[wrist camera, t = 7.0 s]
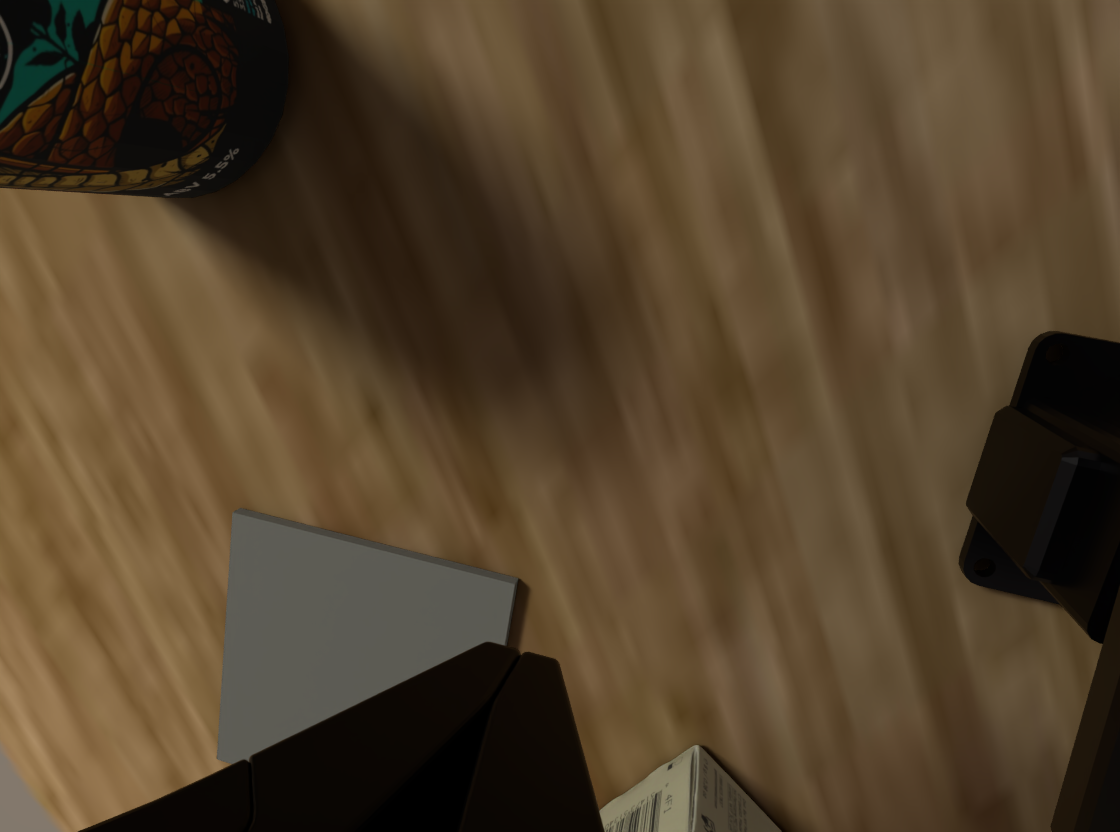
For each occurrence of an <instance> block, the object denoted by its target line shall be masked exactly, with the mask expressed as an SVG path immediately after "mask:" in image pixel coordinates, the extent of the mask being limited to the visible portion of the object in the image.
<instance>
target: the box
mask: <svg viewBox="0 0 1120 832" xmlns="http://www.w3.org/2000/svg"><path fill="white" fill-rule="evenodd" d="M599 812H600V816H601V819H602V823H603V827H604V830H605V832H782V831H781V830H780V829H779V828H778V827H777V826H776V825H775V824H774V823H773V822H772V821H771V819H770V818H769V817H768V816H767V815H766V814H765V813H764V812H763V811H762V810H761V809H760V808H759V807H758V806H757V805H756V804H755V802H754V801H753V800H752V799H751V798H750V797H749V796H748V795H747V794H746V793H745V792H744V791H743V790H742V789H741V788H740V787H739V786H738V785H737V784H736V783H735V782H734V781H733V779H732V778H731V777H730V776H729V775H728V774H727V773H726V772H725V771H724V770H723V769H722V768H721V767H720V766H719V765H718V764H717V763H716V762H715V761H714V760H713V759H712V758H711V757H710V756H709V755H708V754H707V753H706V751H705V750H704V749H703V748H701V747H700V746H699V745H695V746H693V747H691V748H690V749H688V750H686V751H685V752H683V753H682V754H681V755H679V756H678V757H676V758H675V759H673V760H672V761H670V762H668V763H666V764H664V765H662V766H661V767H659V768H658V769H656V770H655V771H654V772H652V773H651V774H650V775H649V776H648V777H647V778H646V779H644V780H643V781H641V782H640V783H639V784H637V785H636V786H634V787H633V788H631V789H630V790H629V791H627V792H626V793H624V794H623V795H621V796H619V797H617V798H615V799H614V800H612V801H611V802H610V803H608V804H607V805H606V806H605V807H604V808H602V809H601V810H600V811H599Z"/></svg>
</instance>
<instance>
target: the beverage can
mask: <svg viewBox="0 0 1120 832" xmlns="http://www.w3.org/2000/svg"><path fill="white" fill-rule="evenodd" d="M288 63H289V55H288V49H287V43H286V37H285V31H284V25H283V22H282V19H281V17H280V14H279V11H278V8H277V5H276V2H275V0H0V188H13V189H30V190H47V191H63V192H80V193H97V194H114V195H131V196H148V197H165V198H193V197H197V196H201V195H205V194H208V193H212V192H216V191H218V190H220V189H221V188H223V187H225V186H227V185H229V184H230V183H232V182H234V181H236V180H237V179H238V178H240V177H241V176H242V175H243V174H244V173H245V172H246V171H247V170H248V169H249V168H250V167H252V166H253V165H254V164H255V163H256V162H257V161H258V159H259V158H260V156H261V155H262V153H263V152H264V150H265V149H266V148H267V146H268V145H269V143H270V142H271V140H272V138H273V136H274V133H275V131H276V128H277V126H278V124H279V121H280V119H281V116H282V114H283V109H284V104H285V99H286V94H287V89H288Z"/></svg>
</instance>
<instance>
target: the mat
mask: <svg viewBox="0 0 1120 832" xmlns="http://www.w3.org/2000/svg"><path fill="white" fill-rule="evenodd" d="M517 584H518V578H515V577H511V576H507V575H503V574H500V573H496V572H492V571H488V570H484V569H480V568H476V567H472V566H468V565H464V564H460V563H456V562H452V561H448V560H444V559H440V558H436V557H432V556H428V555H424V554H420V553H416V552H412V551H408V550H405V549H401V548H397V547H393V546H389V545H385V544H381V543H377V542H373V541H369V540H365V539H361V538H357V537H353V536H349V535H345V534H341V533H337V532H333V531H329V530H325V529H321V528H317V527H313V526H309V525H306V524H302V523H298V522H294V521H290V520H286V519H282V518H278V517H274V516H270V515H266V514H262V513H258V512H254V511H250V510H246V509H242V508H240V509H238V510H236V511H234V512H233V515H232V531H231V546H230V562H229V577H228V593H227V609H226V624H225V640H224V656H223V671H222V687H221V703H220V718H219V734H218V750H217V759H218V760H221V761H224V762H227V763H231V764H234V763H236V762H238V761H240V760H242V759H246V760H247V761H248V762H249V758H250V756H251V755H253V754H255V753H257V752H259V751H261V750H263V749H265V748H267V747H269V746H271V745H274V744H276V743H278V742H280V741H282V740H284V739H286V738H288V737H290V736H292V735H294V734H296V733H298V732H300V731H302V730H304V729H306V728H309V727H311V726H313V725H315V724H317V723H319V722H321V721H323V720H325V719H327V718H329V717H331V716H333V715H335V714H337V713H339V712H341V711H343V710H346V709H348V708H350V707H352V706H354V705H356V704H358V703H360V702H362V701H364V700H366V699H368V698H370V697H372V696H374V695H376V694H378V693H381V692H383V691H385V690H387V689H389V688H391V687H393V686H395V685H397V684H399V683H401V682H403V681H405V680H407V679H409V678H411V677H413V676H416V675H418V674H420V673H422V672H424V671H426V670H428V669H430V668H432V667H434V666H436V665H438V664H440V663H442V662H444V661H446V660H448V659H451V658H453V657H455V656H457V655H459V654H461V653H463V652H465V651H467V650H469V649H471V648H473V647H475V646H477V645H479V644H481V643H484V642H494V643H497V644H501V645H505V646H507V642H508V636H509V631H510V625H511V619H512V613H513V607H514V601H515V596H516V590H517Z"/></svg>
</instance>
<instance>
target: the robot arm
mask: <svg viewBox="0 0 1120 832" xmlns="http://www.w3.org/2000/svg"><path fill="white" fill-rule="evenodd" d="M1054 344H1060V345H1061V346H1062V348H1063V354H1062V356H1061V357H1060V359H1059V360H1057V361H1055V362H1048V361H1047V359H1046V351H1047V350H1048V348H1049V347H1051V346H1052V345H1054ZM966 506H967V507H968V509H969V510H970V512H971V514H972V515H973V517H972V520H971V523H970V526H969V529H968V532H967V535H966V538H965V541H964V544H963V547H962V550H961V553H960V556H959V566H960V569H961V571H962V572H963V574H964V575H965V577H966V578H967V579H968V580H969V581H970V582H972V583H974V584H976V585H979V586H983V587H987V588H991V589H996V590H1000V591H1004V592H1009V593H1013V594H1017V595H1021V596H1026V597H1030V598H1034V599H1039V600H1043V601H1047V602H1052V603H1056V604H1060V605H1061V606H1062V607H1063V608H1064V609H1065V610H1066V611H1067V613H1068V614H1069V615H1070V616H1071V617H1072V618H1073V619H1074V620H1075V621H1076V623H1077V624H1078V625H1079V626H1080V627H1081V628H1082V629H1083V630H1084V631H1085V632H1086V634H1087V635H1088V636H1089V637H1090V638H1091V639H1092V640H1094V641H1096V642H1098V643H1101V644H1103V645H1102V649H1101V652H1100V656H1099V659H1098V663H1097V666H1096V670H1095V673H1094V677H1093V680H1092V684H1091V687H1090V691H1089V694H1088V698H1087V701H1086V705H1085V708H1084V712H1083V715H1082V719H1081V722H1080V726H1079V729H1078V733H1077V736H1076V740H1075V743H1074V747H1073V750H1072V754H1071V757H1070V761H1069V764H1068V768H1067V771H1066V775H1065V778H1064V782H1063V785H1062V789H1061V792H1060V795H1059V799H1058V802H1057V806H1056V809H1055V813H1054V816H1053V820H1052V823H1051V830H1052V832H1120V343H1119V342H1113V341H1108V340H1103V339H1097V338H1092V337H1086V336H1081V335H1075V334H1070V333H1064V332H1059V331H1048V332H1045V333H1043V334H1040V335H1039V336H1038V337H1036V338H1035V339H1034V340H1033V341H1032V343H1031V345H1030V346H1029V348H1028V351H1027V354H1026V357H1025V360H1024V363H1023V366H1022V369H1021V372H1020V375H1019V378H1018V381H1017V384H1016V387H1015V390H1014V393H1013V396H1012V399H1011V402H1010V405H1009V406H1005V407H1004V408H1002V409H1001V410H999V411H998V412H996V413H995V416H994V419H993V422H992V425H991V428H990V431H989V434H988V437H987V440H986V443H985V446H984V449H983V452H982V455H981V458H980V461H979V464H978V467H977V470H976V474H975V477H974V480H973V483H972V486H971V489H970V492H969V495H968V498H967V501H966ZM982 558H988V559H990V565H989V566H988V568H986V569H984V570H975V569H974V564H975V563H976V561H978V560H980V559H982ZM78 832H605V830H604V827H603V823H602V819H601V816H600V812H599V808H598V804H597V801H596V797H595V793H594V790H593V786H592V782H591V779H590V775H589V771H588V767H587V764H586V760H585V756H584V753H583V749H582V745H581V742H580V738H579V734H578V731H577V727H576V723H575V719H574V716H573V712H572V708H571V705H570V701H569V697H568V694H567V690H566V686H565V682H564V679H563V675H562V671H561V668H560V664H559V662H558V661H557V660H556V659H554V658H550V657H546V656H543V655H539V654H535V653H531V652H524V653H523V654H522V655H521V654H520V651H519V650H517V649H516V648H512V647H509V646H505V645H501V644H497V643H494V642H484V643H481V644H479V645H477V646H475V647H473V648H471V649H469V650H467V651H465V652H463V653H461V654H459V655H457V656H455V657H453V658H451V659H448V660H446V661H444V662H442V663H440V664H438V665H436V666H434V667H432V668H430V669H428V670H426V671H424V672H422V673H420V674H418V675H416V676H413V677H411V678H409V679H407V680H405V681H403V682H401V683H399V684H397V685H395V686H393V687H391V688H389V689H387V690H385V691H383V692H381V693H378V694H376V695H374V696H372V697H370V698H368V699H366V700H364V701H362V702H360V703H358V704H356V705H354V706H352V707H350V708H348V709H346V710H343V711H341V712H339V713H337V714H335V715H333V716H331V717H329V718H327V719H325V720H323V721H321V722H319V723H317V724H315V725H313V726H311V727H309V728H306V729H304V730H302V731H300V732H298V733H296V734H294V735H292V736H290V737H288V738H286V739H284V740H282V741H280V742H278V743H276V744H274V745H271V746H269V747H267V748H265V749H263V750H261V751H259V752H257V753H255V754H253V755H251V756H250V758H249V762H248V761H247V760H246V759H242V760H240V761H238V762H236V763H234V764H232V765H230V766H228V767H226V768H223V769H221V770H219V771H217V772H215V773H213V774H211V775H209V776H207V777H205V778H202V779H200V780H198V781H196V782H194V783H192V784H189V785H187V786H185V787H183V788H181V789H178V790H176V791H174V792H172V793H170V794H167V795H165V796H163V797H161V798H159V799H157V800H154V801H152V802H149V803H147V804H145V805H142V806H140V807H137V808H135V809H132V810H130V811H127V812H125V813H122V814H120V815H118V816H115V817H113V818H110V819H108V820H105V821H103V822H100V823H98V824H96V825H93V826H91V827H88V828H86V829H83V830H80V831H78Z"/></svg>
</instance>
